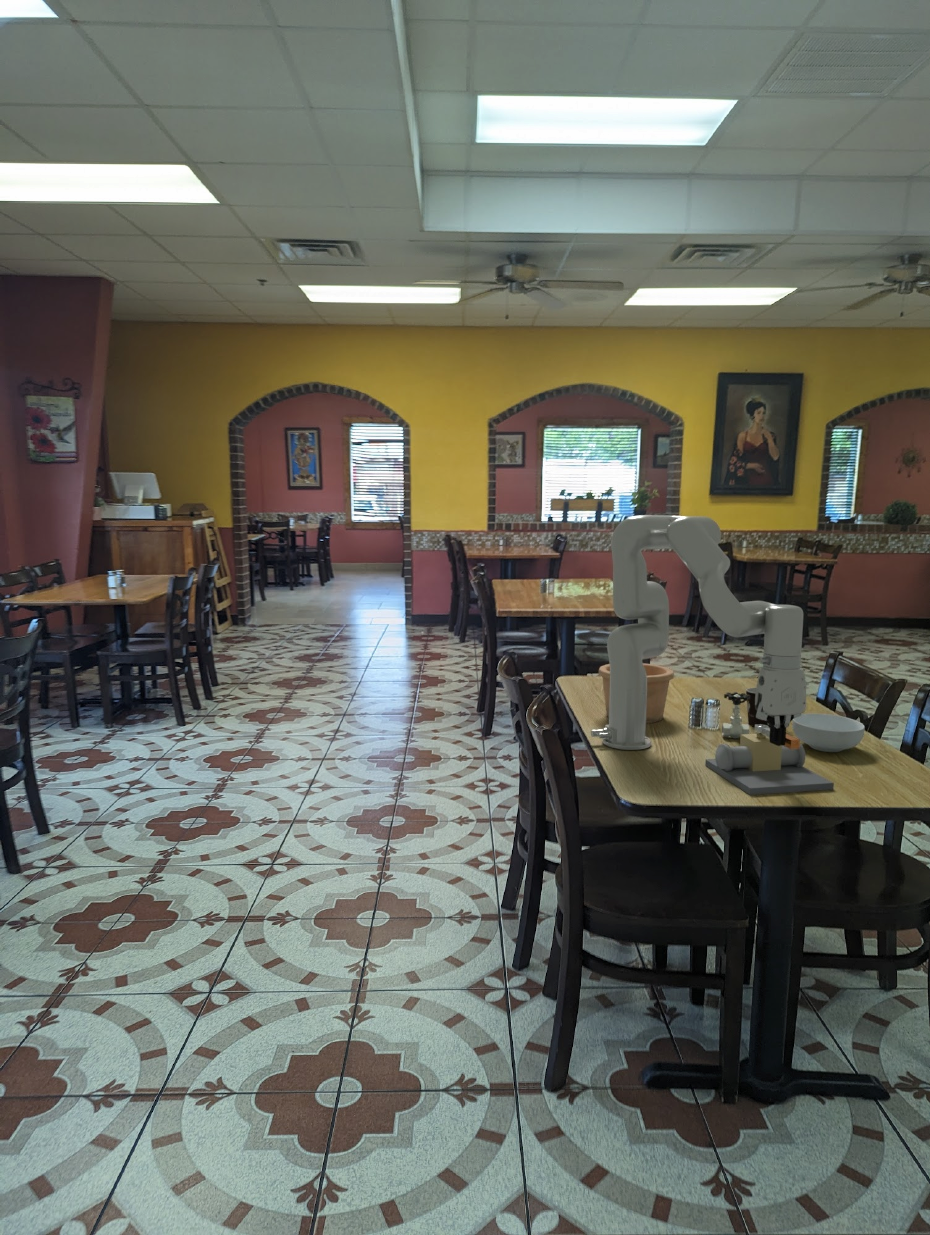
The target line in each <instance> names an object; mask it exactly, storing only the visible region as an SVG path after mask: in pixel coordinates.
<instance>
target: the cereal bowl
mask: <svg viewBox="0 0 930 1235" xmlns="http://www.w3.org/2000/svg"><path fill="white" fill-rule="evenodd" d="M801 714H802V715H801V716H800V717H797V718H793V720H792V721H791V722H792V724H791V726H792V731H793V732H792V733H793V734H794V736H796V737H795V738H797V739H800V742H802V743H805V744H806V745H808V746H809V747H810V748H812V749H813V750H817V751H820V752H826V753H839V752H841V751H844V750H849V749H852V748H855V747H857V746H858V745H859V744H860V743H861V742H862V740H863V738H864V736H865V728H866V727H865V725H864V723H862V722H860V721H858V720H856V719H853V718H850V717H846V716H842V715H837V714H836V715H835V714H829V713H816V712H815V713H814V712H813V713H811V712H810V713H809V712H807V713H801Z"/></svg>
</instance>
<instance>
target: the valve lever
mask: <svg viewBox="0 0 930 1235" xmlns="http://www.w3.org/2000/svg"><path fill="white" fill-rule="evenodd" d="M754 734H761V735H764V736H766V737H768V738H769V736H770V728H769V726H767V725H762V724H757V725H755V727H754ZM800 743H801V741H800V739H798V738H797V737H795V736H793V735H791V734H788V733H786V739H785V745H783V746H785V747H787V748H789V749H799V748H800Z"/></svg>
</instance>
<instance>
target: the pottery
mask: <svg viewBox="0 0 930 1235" xmlns="http://www.w3.org/2000/svg"><path fill="white" fill-rule="evenodd" d="M643 665H644V668H645V671H646V674H647V703H646V724H654V723H658V722H660V721H662V720H663V719H664V713H665V707H666V701H667V698H668V697H667V696H668V691H669V686H670V680H673V679H674V677H675V675H674V674H675V670H673V669H671V668H669V667H667V666H663V665H659V664H652V663H644V662H643ZM598 675H599V676H600V677H601V678H602V685H603V695H604V703H605V711H606V712H605V715H606V716H607V717H608V718H609V701H610V663H608V664H604V665H601V666H599V669H598Z"/></svg>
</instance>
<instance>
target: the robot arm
mask: <svg viewBox="0 0 930 1235" xmlns="http://www.w3.org/2000/svg"><path fill="white" fill-rule="evenodd" d="M721 532H722V531H721V528H720V526H719V524H718V523H717V522H716V521H715V520H714V519H713V518H711V517H708V516H688V515H687V516H685V515H682V516H681V515H666V514H665V515H661V514H659V515H656V514H655V515H654V514H652V515H651V514H644V515H643V514H641V515H639V514H638V515H633V516H630V517H628V518H625V519H624V520H622V521H620V523H618V524H617V526H616V527H615V529H614V531H613V533H612V536H611V541H610V542H611V545H610V547H611V557H612V570H613V571H612V607H613V612H614V614H615V615H616V616H617V617H618V618H620V619H623V620H637V623H631V624H623V625H620V626H618V627H616V628H614V629H613V630H612V631H611V632H610V634H609V635H608V637H607V642H606V649H607V650H606V651H607V655H608V656H607V657H608V662H609V663H608V664H610V701H609V717H608V724H605V726H604V727H602V728H601V729H597V728H596V729H591V730H590V736H591V738H597V737H598V739H602V743H603V745H605V746H606V747H609V748H613V749H618V750H624V751H625V750H626V751H640V750H645V749H647V748H648V749H649V747H651V746H652V740H651V739H650V738H649V737H648V736H647V735H646V726H647V723H646V703H647V674H646V671H645V668H644V665H643V663H644V662H643V660H647V659H652V658H656V657H659V656H661V655H663V653H664V652H666V650H667V647H668V644H669V633H670V630H669V628H670V624H669V623H670V621H669V620H670V601H669V597H668V594H667V591H666V589H665V588H664V586H662V585H661V584H660V583H658V582H656V581H652V580H651V581H649V580H648V579H647V578H648V577H647V576H648V575H647V573H648V568H647V561H646V560H645V557H644V555H643V553H642V551H643V550H660V549H661V550H663V549H664V550H665V549H667V550H668V549H671V550H673V551H674V552H675V553H676V554H677V556H678V557H679V558H680V560H681V561H682V563H683V564H684V565H685V566H686V568H687V570H689V571H690V573H691V574H692V575H693V577H694V578H695V579H696V580H697V582H698V590H699V595H700V596H699V597H700V599H701V603H702V606H703V608H704V609H705V611H706V613H707V614H708V615H709V617H710V618H711V620H712V621H713V622H714V623H715V624H716V625H717V627H718V628H719V629H720V630H721V631H722V632H724V633H725V634H726V635H727V636H728V635H729V636H730V637H734V638H742V637H748V636H756V635H764V638H763V639H764V640H763V642H764V643H763V654H762V655H763V656H762V657H760V658H759V660H758V661H759V663H760V664H761V665H762V667H760V669H759V674H758V677H757V682H756V687H755V688H756V696H755V708H756V710H757V714H756V718H758V719H761V720H765V721H766V722H767V723H768V725H770V736H769V738H770V743H772V744H775V745H777V746H781V745H782V746H783V745H785V739H786V734H787V728H789V727H790V725H791V722H792V720H793V718H797V717H800V716H801V715H802V714H804V713H805V711H806V709H807V683H806V682H807V681H806V673H805V670H804V668H803V667H801V662H802V647H803V643H802V642H803V630H804V629H803V628H804V611H803V609H802V608H801V607H800V606H798V605H793V604H776V603H771V602H768V601H764V600H752V601H751V600H750V601H742V602H740V601H739V600H738V599H737V598H736V597H735V595H734V594H733V593H732V591H731V590H730V588H729V587H728V585H727V583H726V580H725V574H726V573H727V571H728V570H729V569H730V566H731V560H730V558H729V557H728V555H727V554H726V553H725V552H724V551H723V550H722V549H721V547H720V546H719V543H720V541H721V539H722V538H721V537H722V533H721ZM765 713H766V714H765Z"/></svg>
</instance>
